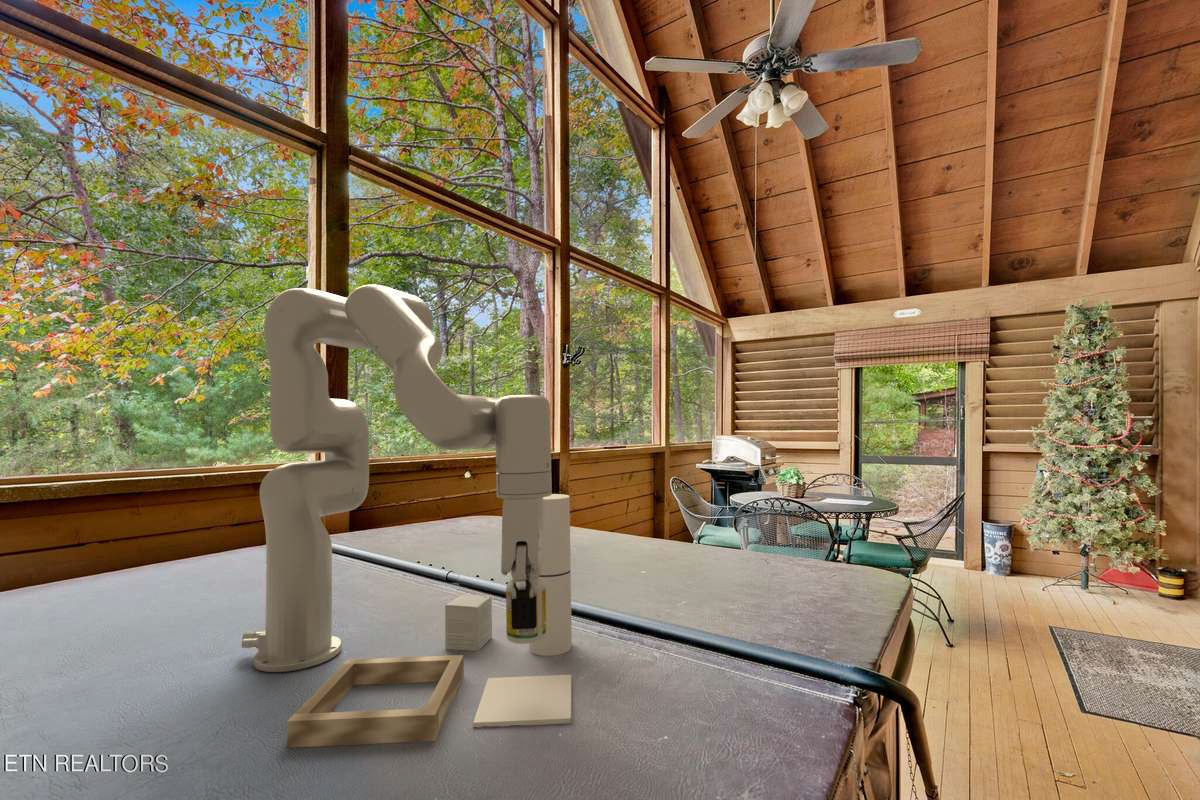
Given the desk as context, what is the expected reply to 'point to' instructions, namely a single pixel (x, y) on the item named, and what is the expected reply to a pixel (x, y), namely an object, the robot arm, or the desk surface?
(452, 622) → the product box
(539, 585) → the supplement bottle
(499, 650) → the desk surface
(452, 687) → the wooden square frame
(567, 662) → the desk surface
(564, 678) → the pad
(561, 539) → the cylindrical container
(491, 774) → the desk surface
